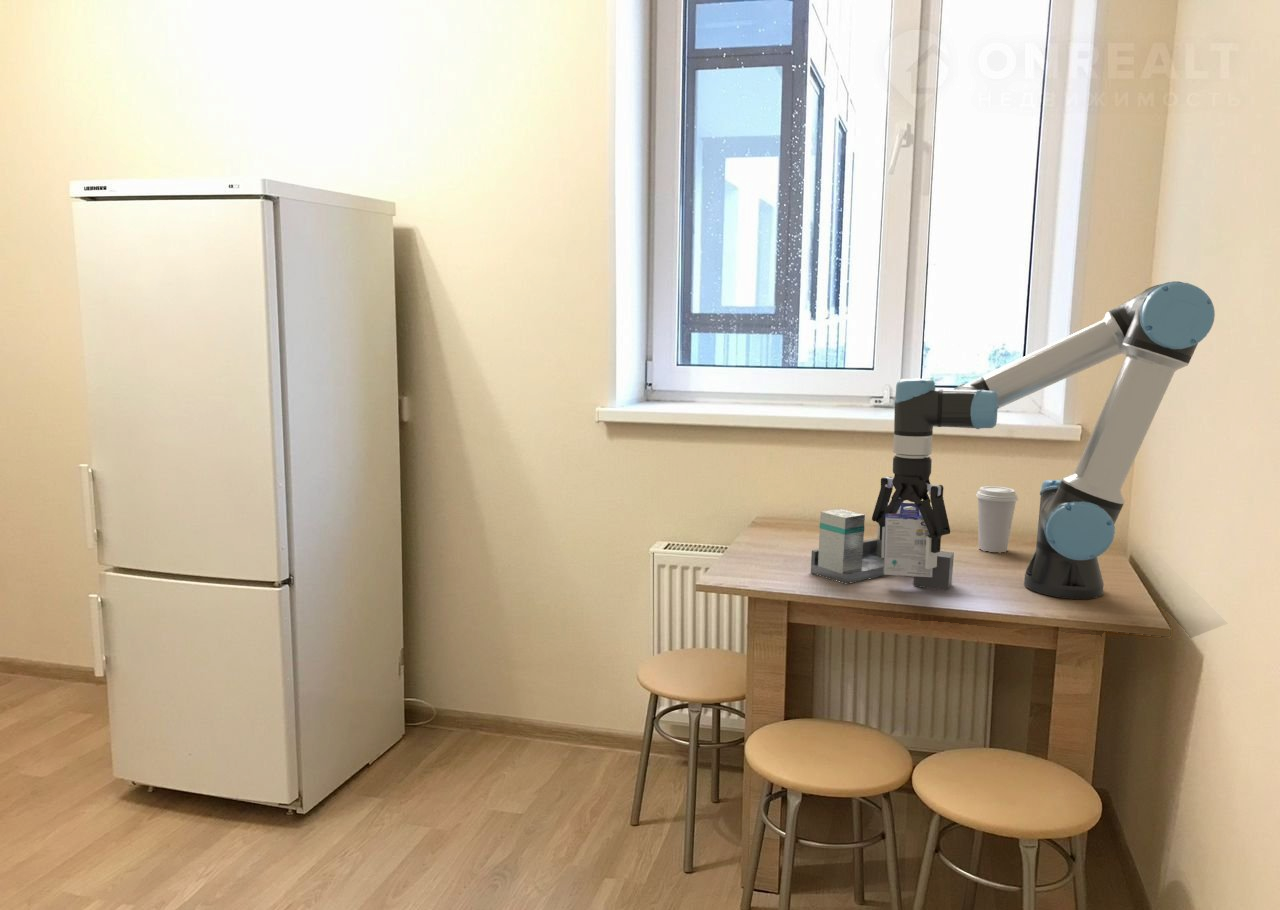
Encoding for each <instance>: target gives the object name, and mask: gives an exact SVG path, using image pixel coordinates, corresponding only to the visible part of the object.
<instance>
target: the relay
mask: <svg viewBox="0 0 1280 910" xmlns="http://www.w3.org/2000/svg"><path fill="white" fill-rule="evenodd" d="M954 556H955V553H954V552H952V551H946V550H945V551H943V550H940V552H937V567H935V568H933V573H932V577H915V576H913V584H912V586H913V585H915V586H914V587H919V586H921V587H922V588H926V587H928V588H927V589H934V590H942V591H949V590H950V588H951V586H952V584H953V571H954V569H953V568H954V560H955V559H954Z"/></svg>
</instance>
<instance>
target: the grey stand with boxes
mask: <svg viewBox="0 0 1280 910" xmlns="http://www.w3.org/2000/svg"><path fill="white" fill-rule="evenodd" d="M890 501H891V500H889V503H890ZM889 503H888V505H889ZM903 503H909V501H903ZM887 507H888V506H887ZM903 509H904V510H916V508H915V507H912V506H907V507H904V508H903ZM900 510H901V506H900V508H899V510H898V511H897V513H896V514H900ZM919 514H921V513H920V510H919ZM865 519H866V515H865V514H863V513H859V512H855V511H850V510H846V509H842V508H837V509H831V510H830V509H829V510H823V511H820V517H819V536H818V537H819V539H818V549H813V550H811V556H810V557H811V560H810V561H811V562H810V574H812V573H814V574H813V575H816V574H818V575H817V576H819V575H821V576H820V577H822V576H824V577H823V578H825V577H827V578H826V579H828V578H830V579H829V580H831V579H834V580H837V581H840V582H839V583H841V582H843V583H842V584H844V583H848V584H851V583H850V582H853V583H856V582H855V581H857V582H860V581H859V580H862V581H865V580H864V579H866V580H869V578H871V579H875V578H879V576H880V577H884V576H885V575H884V574H883V571H884V558H882V557H881V551H882V541H881V540H880V525H879V523H877V538H872V539H868V540H864V537H865V536H864V535H865ZM883 575H884V576H883ZM874 577H875V578H874ZM834 580H833V581H834ZM837 581H836V582H837Z"/></svg>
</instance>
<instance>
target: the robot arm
mask: <svg viewBox="0 0 1280 910" xmlns="http://www.w3.org/2000/svg"><path fill="white" fill-rule="evenodd" d="M1215 316H1216V314H1215V307H1214V303H1213V301H1212V299H1211V298H1210V296H1209V295H1208V293H1206V291H1204V290H1203V289H1201V288H1200V287H1198V285H1194V284H1191V283H1189V282H1183V281H1168V282H1164V283H1161V284H1157V285H1153V286H1150V287H1148V288H1146V289H1145V290H1143V291H1142V292H1140V293H1138V294H1136V295H1135V296H1134V297H1132V298H1131V299H1129V300H1128V301H1126V302H1124V303H1122V304H1120V305H1118V306H1117V307H1115V308H1113V309H1111V310H1108V311H1107V312H1105V315H1104V317H1103V319H1101V320H1099V321H1097V322H1095V323H1093V324H1091V325H1088V326H1086V327H1083V329H1082V328H1081V329H1080V330H1078V331H1076V332H1074V333H1072V334H1070V335H1068V336H1066V337H1063V338H1061V339H1059V340H1056V341H1055V342H1052V343H1051V344H1048V345H1046V346H1043V347H1042V348H1040V349H1037V350H1035V351H1034V352H1031V353H1029V354H1027V355H1025V356H1023V357H1021V358H1018V359H1016V360H1014V361H1012V362H1010V363H1007V364H1006V365H1005V364H1004V365H1003V366H1001V367H999V368H997V369H995V370H992V371H990V372H989V373H986V374H984V375H983V376H980V377H978V378H975V379H974V380H972V381H969V382H968V383H963V384H960V385H958V386H956V387H954V388H953V389H942V388H941V389H940V388H936V384H935V380H933V379H929V378H902V379H900V380H899V381H897V382H896V386H895V395H894V396H895V398H894V417H893V418H894V419H893V420H894V423H893V445H892V447H893V448H892V450H893V451H892V452H893V453H894V454H895V455H894V456H893V457H892V473H893V474H894V476H893V477H892V476H886V477H881V478H880V489H879V493H878V496H877V499H876V502H875V507H874V509H873V513H872V516H871V521H873V522H876V523H877V524H878V523H879V525H880V540H881V541H882V551H881V557H882V558H884V534H885V515H886V513H888V514H896V513H897V511H898V510H899V508H900V506H901V503H903V502H906V501H907V502H909V503H915V505H916V506H917V507H918V508H919V510H920V513H921V515H922V517H923V520H924V522H925V524H926V527H927V529H928V531H929V534H930V535H929V536H927V537H926V558H925V568H926V569H931V568H935V567H937V552H940V551H941V542H942V540H941V539H942V537H943V536H947V535H950V534H951V527H950V524H949V523H950V522H949V519H948V514H947V510H946V506H945V500H944V486H943V484H937V485H935V484H931V482H930V477H931V474H932V461H933V459H932V458H931V456H929V455H931V454H932V452H933V433H934V432H933V430H934V428H942V427H944V428H960V429H961V428H962V429H963V428H964V429H965V428H966V429H975V430H980V429H993V428H994V427H996V425H997V423H998V410H999V409H1000V408H1003V407H1005V406H1006V405H1009V404H1011V403H1014V402H1017V401H1018V400H1020V399H1023V398H1024V397H1027V396H1029V395H1032V394H1034V393H1035V392H1038V391H1040V390H1042V389H1044V388H1047V387H1049V386H1052V385H1054V384H1056V383H1058V382H1060V381H1063V380H1065V379H1067V378H1070V377H1072V376H1074V375H1076V374H1078V373H1080V372H1083V371H1085V370H1087V369H1089V368H1091V367H1094V366H1096V365H1099V364H1101V363H1103V362H1106V361H1107V360H1110V359H1113V358H1114V357H1117V356H1118V355H1121V354H1122V355H1125V358H1124V360H1123V362H1122V365H1121V366H1120V369H1119V372H1118V374H1117V376H1116V378H1115V380H1114V382H1113V385H1112V387H1111V388H1110V391H1109V394H1108V397H1107V398H1106V401H1105V403H1104V405H1103V407H1102V410H1101V411H1100V414H1099V416H1098V419H1097V421H1096V423H1095V426H1094V427H1093V430H1092V432H1091V435H1090V437H1089V439H1088V441H1087V442H1086V445H1085V448H1084V450H1083V453H1082V455H1081V456H1080V459H1079V462H1078V464H1077V466H1076V468H1075V471H1074V472H1073V473H1072V474H1070V475H1067V476H1065V477H1062V479H1045V480H1044V481H1043V482H1042V483H1041V489H1040V491H1039V495H1040V500H1039V514H1038V523H1037V533H1036V534H1037V535H1036V545H1035V551H1034V553H1033V556H1031V557H1032V558H1031V560H1030V562H1029V564H1028V566H1027V569H1026V571H1025V573H1024V581H1023V585H1024V586H1025V587H1026V588H1027V589H1029V590H1030V591H1033V592H1034V593H1035V592H1036V593H1039V594H1041V595H1045V596H1050V597H1055V598H1056V597H1057V598H1062V599H1068V600H1069V599H1070V600H1071V599H1072V600H1089V599H1090V600H1092V599H1098V598H1100V597H1102V596H1103V594H1104V585H1105V583H1104V580H1103V575H1102V571H1101V568H1100V563H1099V560H1098V557H1099V556H1102V555H1103V554H1104V553H1105V552H1106V551H1107V550H1108V549H1109V548H1110V546H1111V545H1112V543H1113V541H1114V538H1115V534H1116V531H1115V530H1116V526H1115V525H1116V522H1117V521H1118V518H1119V515H1120V514H1121V511H1122V510H1123V507H1124V505H1125V502H1126V501H1125V499H1124V497H1123V495H1122V491H1121V490H1122V488H1123V485H1124V483H1125V481H1126V479H1127V477H1128V474H1129V472H1130V470H1131V468H1132V465H1133V463H1134V462H1135V459H1136V457H1137V455H1138V453H1139V451H1140V448H1141V447H1142V444H1143V442H1144V440H1145V437H1146V435H1147V433H1148V431H1149V429H1150V427H1151V424H1152V422H1153V420H1154V418H1155V415H1156V413H1157V411H1158V409H1159V407H1160V405H1161V403H1162V401H1163V398H1164V396H1165V394H1166V391H1167V390H1168V387H1169V385H1170V383H1171V381H1172V378H1173V377H1174V374H1175V372H1177V371H1178V370H1181V369H1183V368H1185V367H1187V366H1189V364H1190V361H1191V359H1192V357H1193V355H1194V353H1195V350H1196V349H1197V346H1198V344H1199V343H1201V342H1202V341H1203V340H1204V339H1205V338H1206V337H1207V336H1208V334H1209V333H1210V331H1211V329H1212V327H1213V325H1214V322H1215ZM893 489H895V491H894V492H893ZM892 493H893V494H892ZM891 495H892V496H891ZM889 501H890V503H889ZM888 503H889V505H888ZM887 506H888V507H887Z"/></svg>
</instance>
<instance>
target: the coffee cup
mask: <svg viewBox="0 0 1280 910" xmlns="http://www.w3.org/2000/svg"><path fill="white" fill-rule="evenodd" d="M975 497H976V498H977V517H978V518H977V521H978V523H977V524H978V526H977V528H978V533H977V535H978V539H977V540H978V550H979V549H981V550H984V551H983V552H985V551H989V552H988V553H990V552H1005V553H1007V552H1006V551H1008V547H1009V541H1010V537H1011V530H1012V524H1013V518H1014V512H1015V508H1016V502H1017V501H1019V497H1018V494H1016V490H1015V489H1014V488H1010V487H1004V486H995V485H994V486H991V485H990V486H989V485H988V486H981V487H979V490H978V491H977V492H976V495H975ZM981 550H980V551H981Z"/></svg>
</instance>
